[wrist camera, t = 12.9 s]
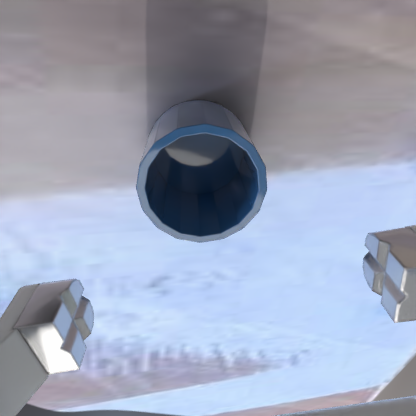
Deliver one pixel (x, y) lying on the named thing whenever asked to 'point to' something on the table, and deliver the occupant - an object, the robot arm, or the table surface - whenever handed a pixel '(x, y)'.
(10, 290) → the table surface
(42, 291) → the robot arm
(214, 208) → the blue cup
